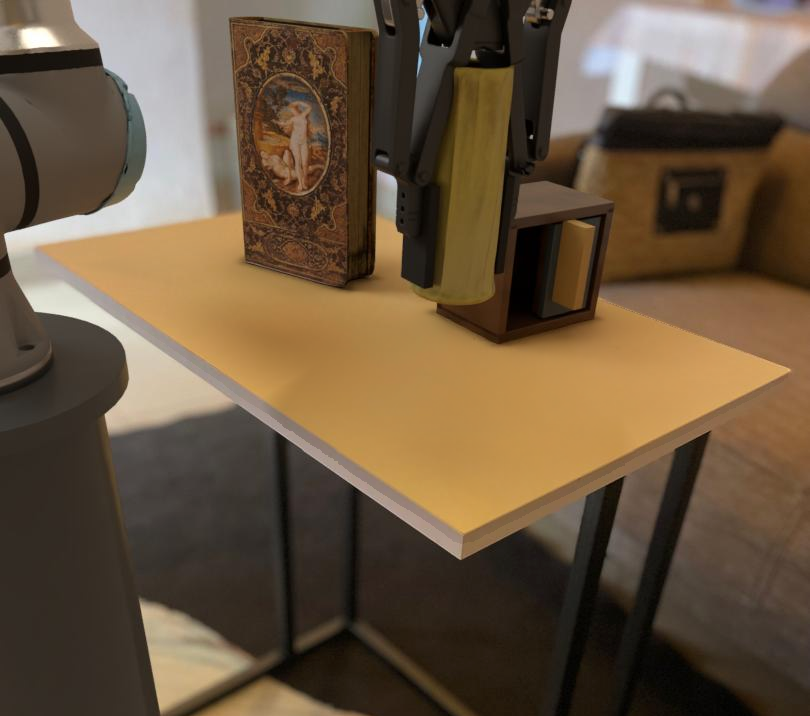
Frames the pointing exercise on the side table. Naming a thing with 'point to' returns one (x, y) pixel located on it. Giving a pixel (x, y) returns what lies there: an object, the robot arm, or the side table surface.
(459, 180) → the vase
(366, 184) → the book
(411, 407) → the side table surface
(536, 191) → the small wooden bookshelf
